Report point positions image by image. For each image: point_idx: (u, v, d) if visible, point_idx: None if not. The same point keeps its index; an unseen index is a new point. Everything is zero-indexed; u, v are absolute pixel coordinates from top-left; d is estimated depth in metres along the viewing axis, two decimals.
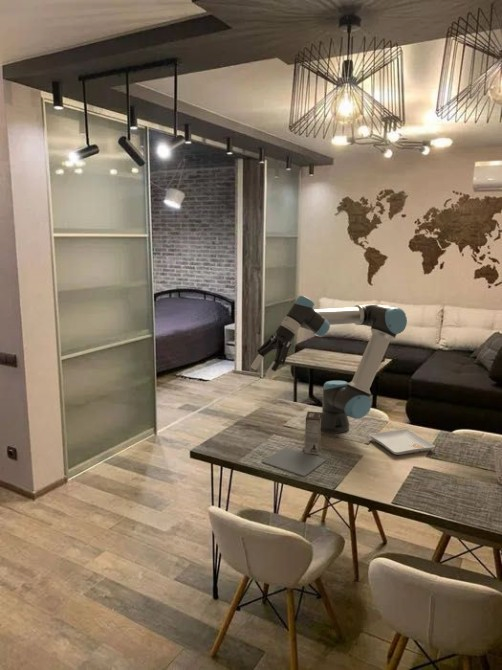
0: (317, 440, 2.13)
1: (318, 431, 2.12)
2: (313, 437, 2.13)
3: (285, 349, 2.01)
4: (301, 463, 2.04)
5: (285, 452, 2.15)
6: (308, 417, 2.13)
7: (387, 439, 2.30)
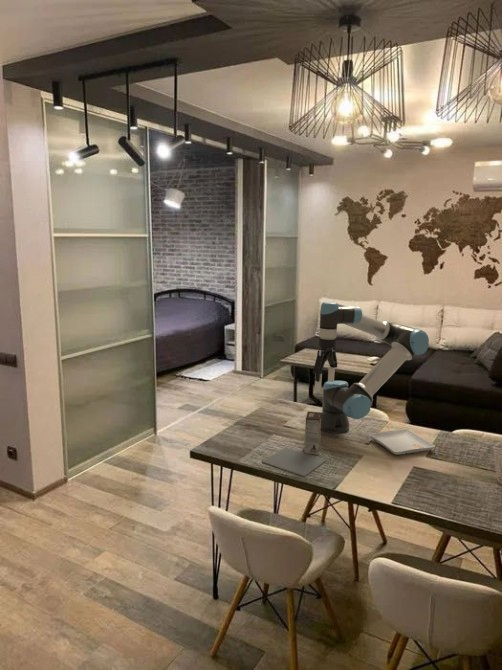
0: (317, 440, 2.13)
1: (318, 431, 2.12)
2: (313, 437, 2.13)
3: (317, 359, 2.14)
4: (301, 463, 2.04)
5: (285, 452, 2.15)
6: (308, 417, 2.13)
7: (387, 439, 2.30)
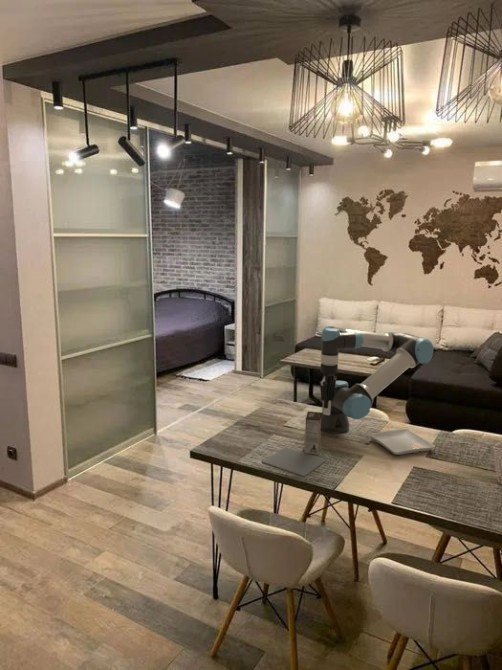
0: (317, 440, 2.13)
1: (318, 431, 2.12)
2: (313, 437, 2.13)
3: (321, 389, 2.20)
4: (301, 463, 2.04)
5: (285, 452, 2.15)
6: (308, 417, 2.13)
7: (387, 439, 2.30)
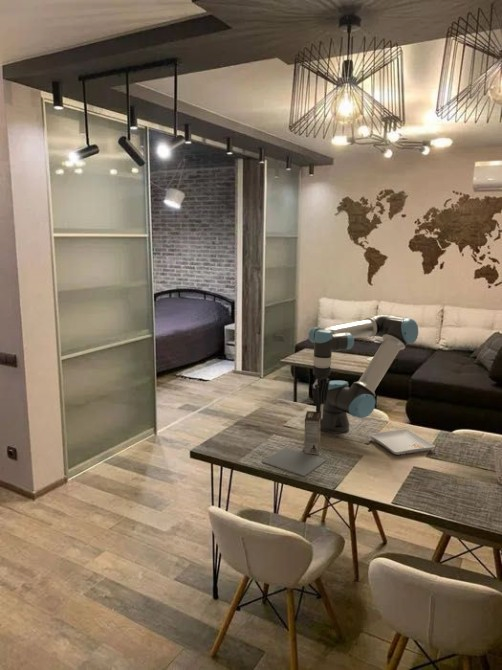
0: (317, 440, 2.12)
1: (317, 431, 2.11)
2: (313, 438, 2.12)
3: (314, 392, 2.14)
4: (301, 463, 2.04)
5: (285, 452, 2.15)
6: (307, 418, 2.12)
7: (387, 439, 2.30)
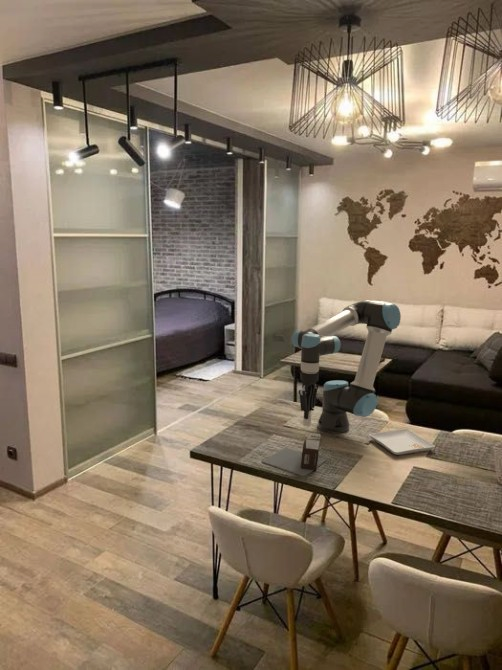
0: None
1: None
2: None
3: (301, 398, 2.06)
4: None
5: (285, 452, 2.15)
6: (303, 466, 1.99)
7: (387, 439, 2.30)
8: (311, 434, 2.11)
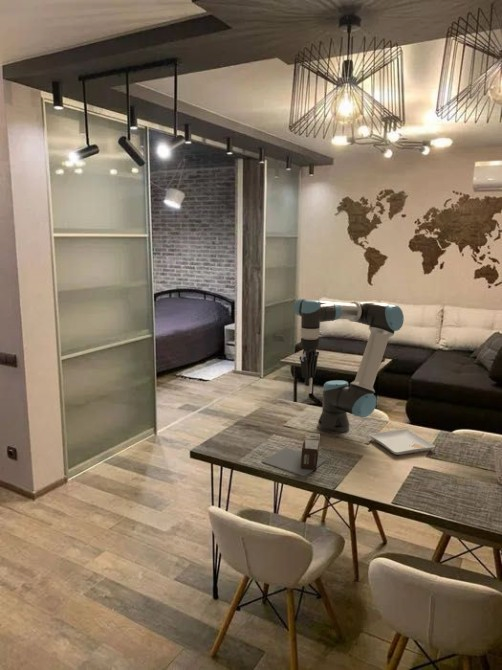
0: None
1: None
2: None
3: (302, 365, 2.05)
4: None
5: (285, 452, 2.15)
6: (303, 466, 1.99)
7: (387, 439, 2.30)
8: (310, 434, 2.11)
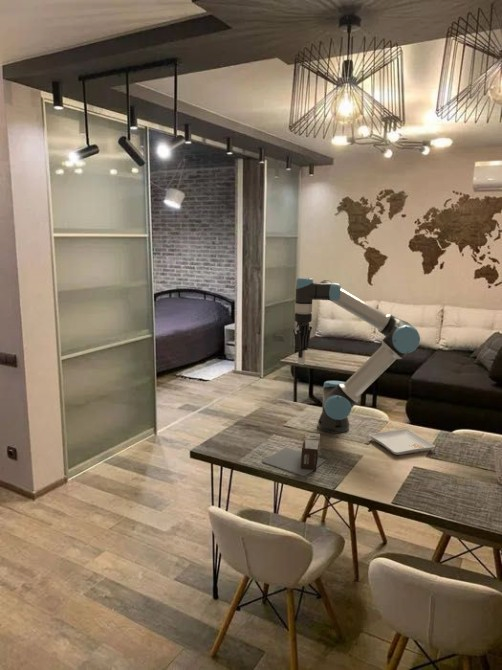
0: None
1: None
2: None
3: (295, 337, 2.21)
4: None
5: (285, 452, 2.15)
6: (303, 466, 1.99)
7: (387, 439, 2.30)
8: (310, 434, 2.11)
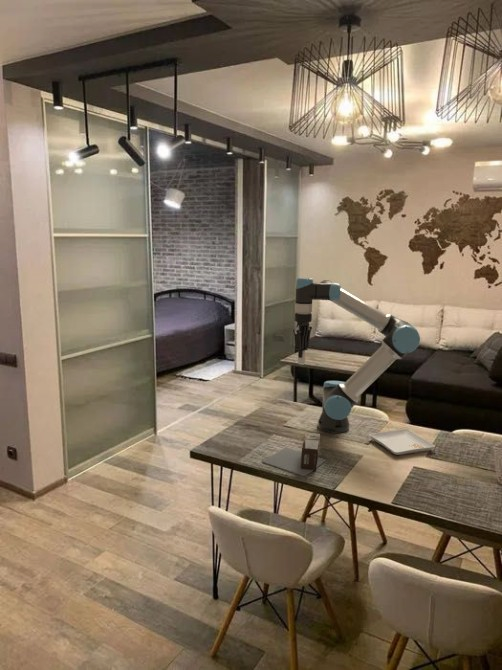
0: None
1: None
2: None
3: (295, 337, 2.21)
4: None
5: (285, 452, 2.15)
6: (303, 466, 1.99)
7: (387, 439, 2.30)
8: (310, 434, 2.11)
